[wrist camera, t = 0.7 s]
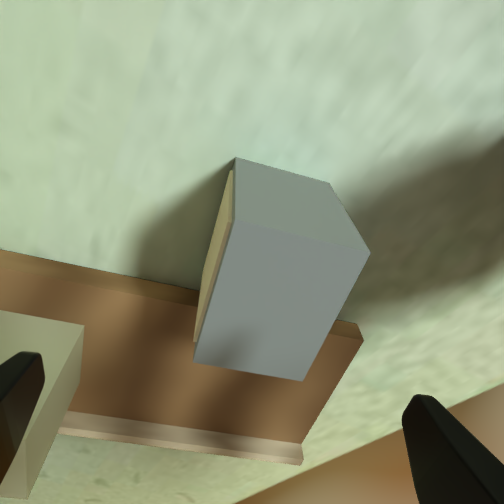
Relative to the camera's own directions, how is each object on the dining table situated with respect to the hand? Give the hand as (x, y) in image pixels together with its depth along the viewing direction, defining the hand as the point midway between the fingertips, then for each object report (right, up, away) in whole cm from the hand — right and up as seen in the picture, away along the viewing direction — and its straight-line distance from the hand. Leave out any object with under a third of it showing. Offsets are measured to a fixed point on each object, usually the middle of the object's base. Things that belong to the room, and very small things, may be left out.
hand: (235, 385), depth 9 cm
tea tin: (+1, +4, +11) cm, 12 cm away
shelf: (-6, -4, +16) cm, 18 cm away
